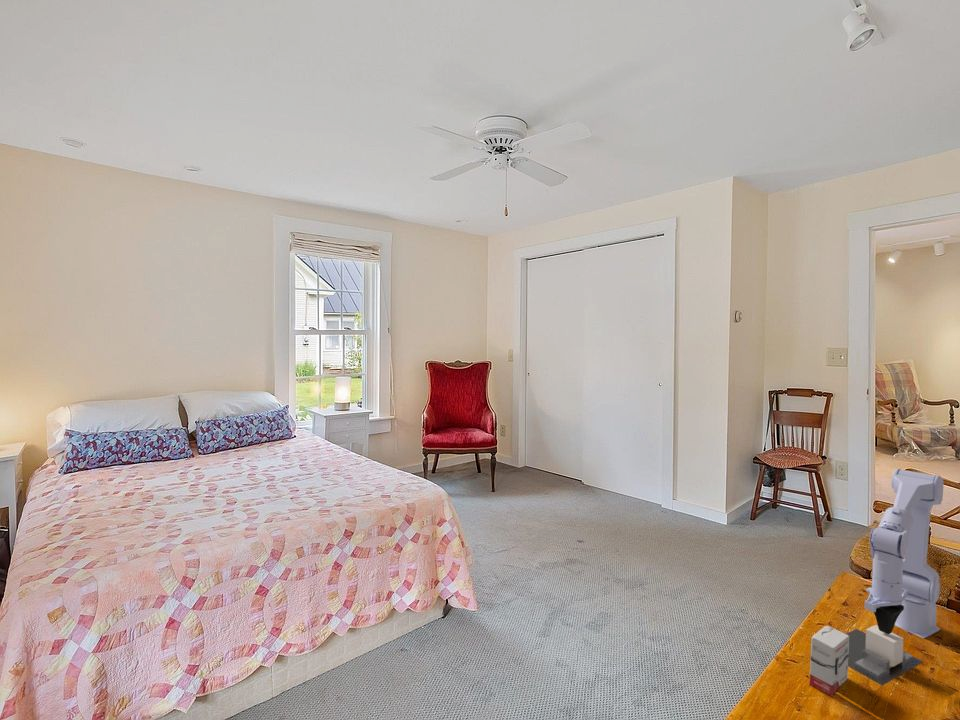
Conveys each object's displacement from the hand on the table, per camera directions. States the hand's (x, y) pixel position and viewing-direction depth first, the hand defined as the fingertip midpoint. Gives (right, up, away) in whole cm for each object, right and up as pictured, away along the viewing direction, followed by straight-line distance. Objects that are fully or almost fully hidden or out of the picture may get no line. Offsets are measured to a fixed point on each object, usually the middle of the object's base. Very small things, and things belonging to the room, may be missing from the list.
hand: (885, 631), depth 124 cm
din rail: (-1, -9, +4) cm, 10 cm away
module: (0, -7, +1) cm, 7 cm away
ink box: (-17, -10, -5) cm, 20 cm away
